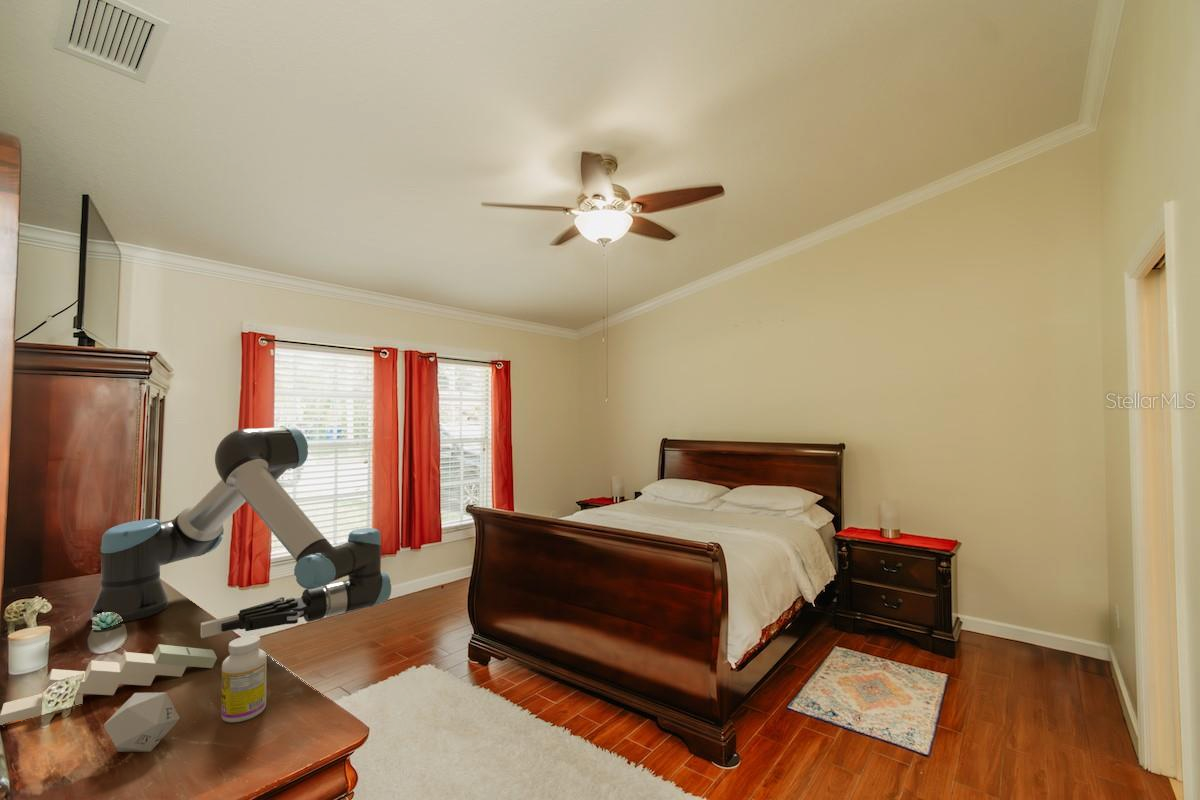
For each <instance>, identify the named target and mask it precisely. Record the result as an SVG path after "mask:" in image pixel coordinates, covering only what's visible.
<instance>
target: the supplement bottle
mask: <svg viewBox="0 0 1200 800" xmlns="http://www.w3.org/2000/svg"><path fill="white" fill-rule="evenodd" d="M260 647H261V636H259V635H254V634H252V635H244V636H239V637H237V638H235V639H233V640H231V641H230V642H229V643H228V652H229V655H228V656H227V657H226V658H225V659H224V660H223V661H222V664H221V688H220V689H221V692H220V693H221V694H220V695H221V696H220V697H221V699H220V700H221V704H220V705H221V707H220V709H221V711H220V712H221V715H220V716H221V719H222V720H223V721H224V722H226V723H230V724H231V723H235V724H236V723H240V722H245V721H248V720H251V719H253V718H255V717H257V716H258V715H259V714H261V713H262V712H263V711H264V710H265V709H266V706H267V659H268V658H267V653H266V651H264V650H263V649H261V648H260Z"/></svg>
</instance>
